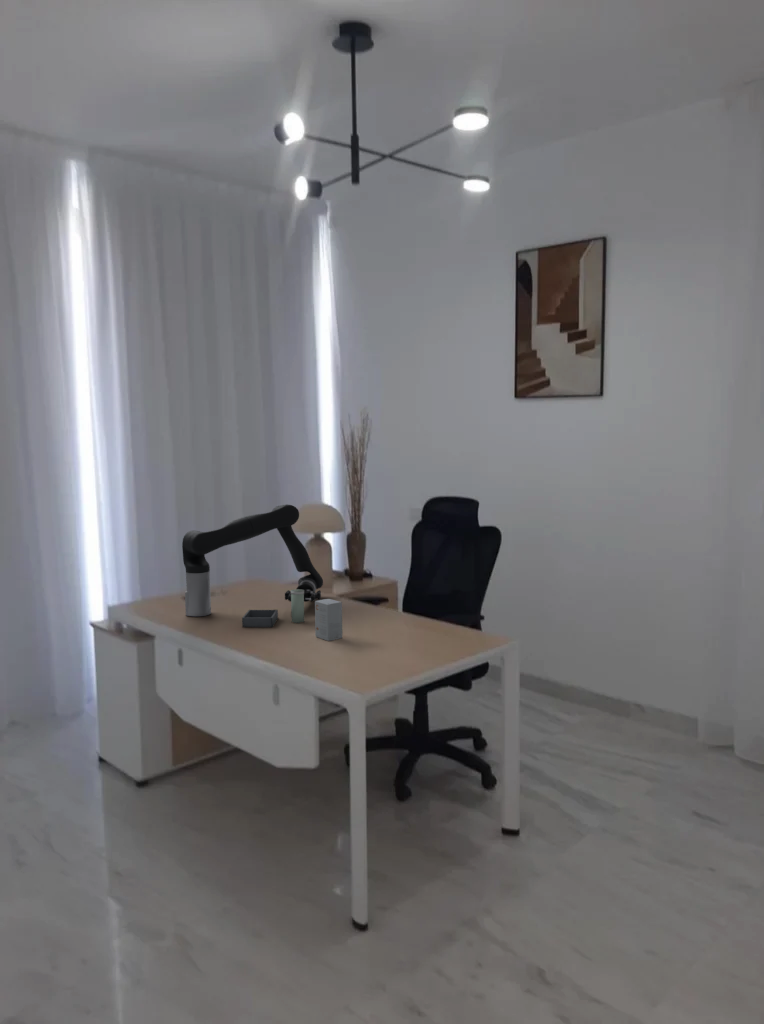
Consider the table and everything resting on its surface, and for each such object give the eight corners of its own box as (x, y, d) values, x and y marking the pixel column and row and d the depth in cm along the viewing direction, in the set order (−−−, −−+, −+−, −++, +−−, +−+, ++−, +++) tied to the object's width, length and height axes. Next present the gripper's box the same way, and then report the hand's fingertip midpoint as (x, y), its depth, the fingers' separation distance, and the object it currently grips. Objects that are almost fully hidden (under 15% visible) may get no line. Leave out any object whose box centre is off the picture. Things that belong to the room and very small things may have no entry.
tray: (242, 627, 299) (242, 617, 299) (249, 618, 312) (248, 609, 312) (272, 627, 299) (272, 617, 298) (277, 618, 312) (277, 609, 311)
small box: (342, 638, 283) (342, 601, 281) (328, 641, 279) (327, 604, 277) (329, 633, 289) (328, 598, 287) (314, 636, 285) (314, 600, 283)
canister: (290, 623, 305) (289, 592, 303) (292, 619, 310) (291, 589, 308) (303, 623, 304) (303, 592, 303) (305, 619, 309) (304, 589, 308)
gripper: (288, 581, 332) (282, 589, 316) (323, 581, 332) (318, 589, 316) (288, 599, 333) (283, 608, 317) (323, 599, 333) (319, 608, 317)
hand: (300, 599), depth 316 cm, fingers open, 8 cm apart
